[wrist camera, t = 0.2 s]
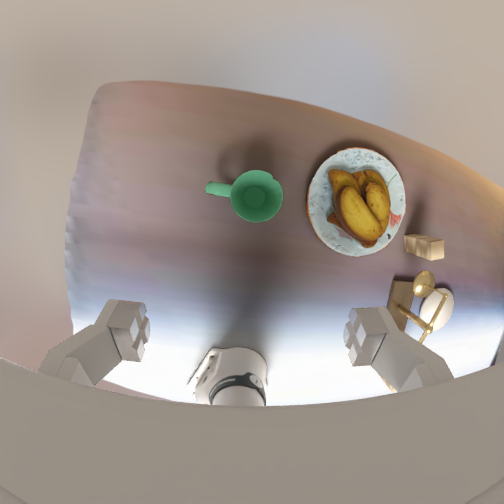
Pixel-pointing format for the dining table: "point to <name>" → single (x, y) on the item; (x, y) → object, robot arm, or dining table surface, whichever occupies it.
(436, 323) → the dish
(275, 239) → the dining table surface
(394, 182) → the food on plate
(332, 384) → the dining table surface
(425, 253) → the column
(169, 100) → the dining table surface
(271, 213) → the mug
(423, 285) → the balance
